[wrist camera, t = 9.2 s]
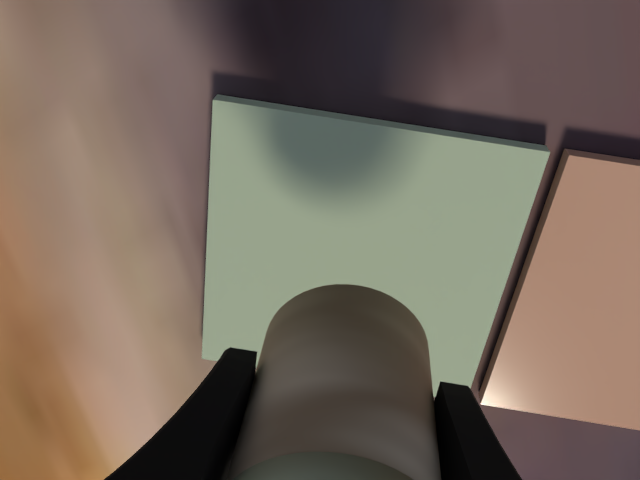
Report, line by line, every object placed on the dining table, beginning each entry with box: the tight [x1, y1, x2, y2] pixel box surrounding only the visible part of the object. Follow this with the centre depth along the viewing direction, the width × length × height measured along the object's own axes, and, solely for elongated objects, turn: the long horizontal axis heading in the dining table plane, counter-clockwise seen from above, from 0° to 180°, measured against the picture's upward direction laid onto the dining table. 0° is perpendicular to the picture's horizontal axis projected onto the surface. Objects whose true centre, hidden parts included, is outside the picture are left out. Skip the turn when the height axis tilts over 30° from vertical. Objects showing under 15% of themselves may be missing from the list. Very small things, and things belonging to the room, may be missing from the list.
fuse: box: [226, 284, 441, 480], centre depth 12 cm, size 4×4×6 cm
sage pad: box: [202, 94, 550, 397], centre depth 19 cm, size 9×9×1 cm
